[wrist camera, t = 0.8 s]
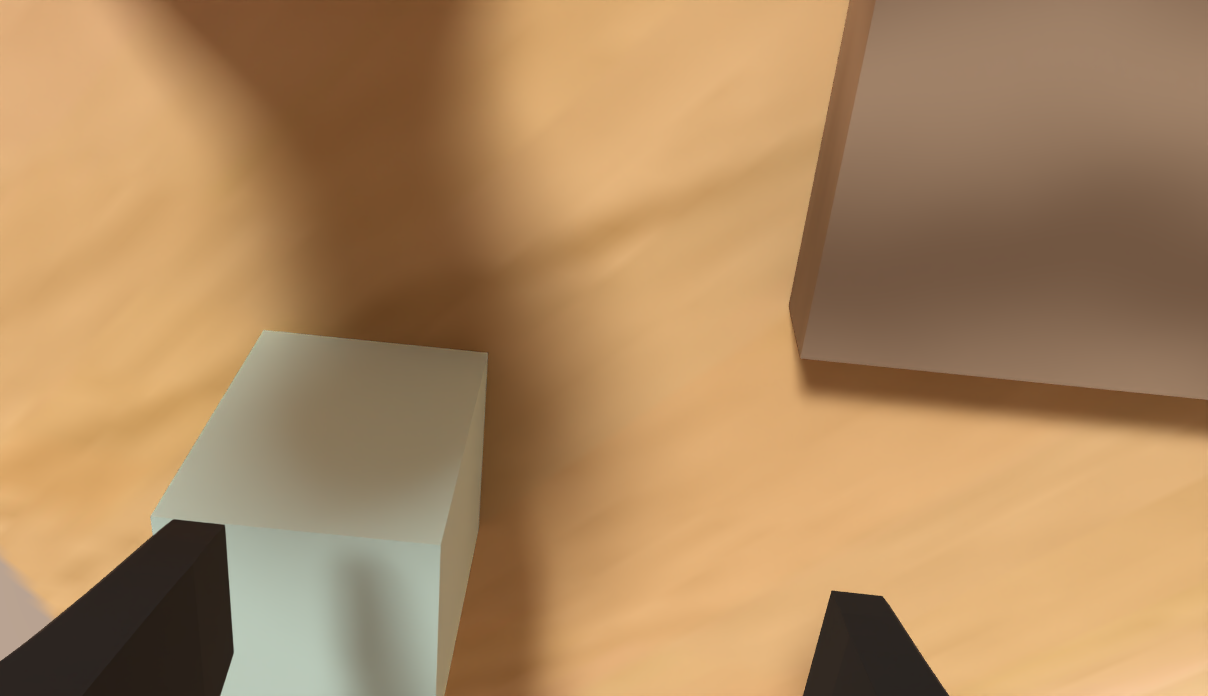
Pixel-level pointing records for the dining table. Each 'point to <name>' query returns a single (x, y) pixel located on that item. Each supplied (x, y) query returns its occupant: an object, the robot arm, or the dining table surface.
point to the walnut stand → (1014, 194)
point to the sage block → (341, 512)
